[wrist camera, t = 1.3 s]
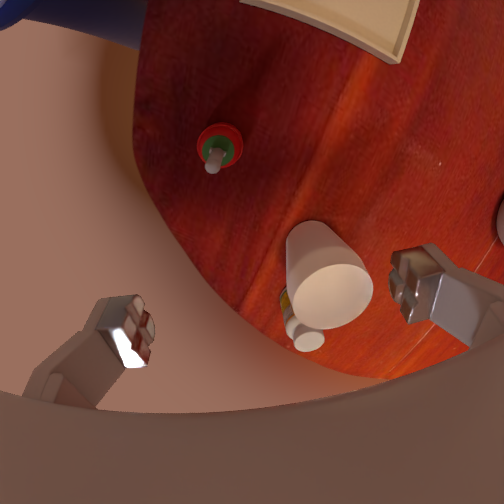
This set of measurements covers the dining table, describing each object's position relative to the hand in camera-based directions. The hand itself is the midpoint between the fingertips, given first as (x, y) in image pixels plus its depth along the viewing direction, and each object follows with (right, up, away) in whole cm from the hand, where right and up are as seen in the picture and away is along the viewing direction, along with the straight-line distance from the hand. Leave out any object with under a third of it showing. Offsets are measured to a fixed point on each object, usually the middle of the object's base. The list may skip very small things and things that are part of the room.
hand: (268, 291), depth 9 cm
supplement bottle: (+6, -5, +35) cm, 36 cm away
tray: (+10, +33, +12) cm, 36 cm away
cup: (+7, +3, +30) cm, 31 cm away
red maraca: (-4, +14, +22) cm, 27 cm away
